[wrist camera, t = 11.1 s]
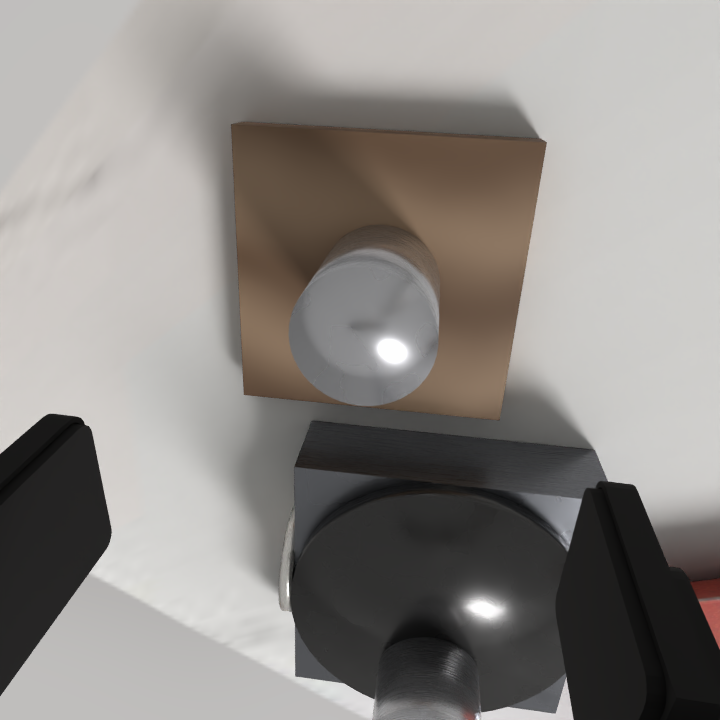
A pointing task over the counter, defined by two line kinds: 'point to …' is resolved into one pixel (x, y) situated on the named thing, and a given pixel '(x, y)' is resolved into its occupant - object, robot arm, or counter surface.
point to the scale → (432, 554)
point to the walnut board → (394, 208)
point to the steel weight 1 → (369, 318)
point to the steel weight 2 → (426, 682)
